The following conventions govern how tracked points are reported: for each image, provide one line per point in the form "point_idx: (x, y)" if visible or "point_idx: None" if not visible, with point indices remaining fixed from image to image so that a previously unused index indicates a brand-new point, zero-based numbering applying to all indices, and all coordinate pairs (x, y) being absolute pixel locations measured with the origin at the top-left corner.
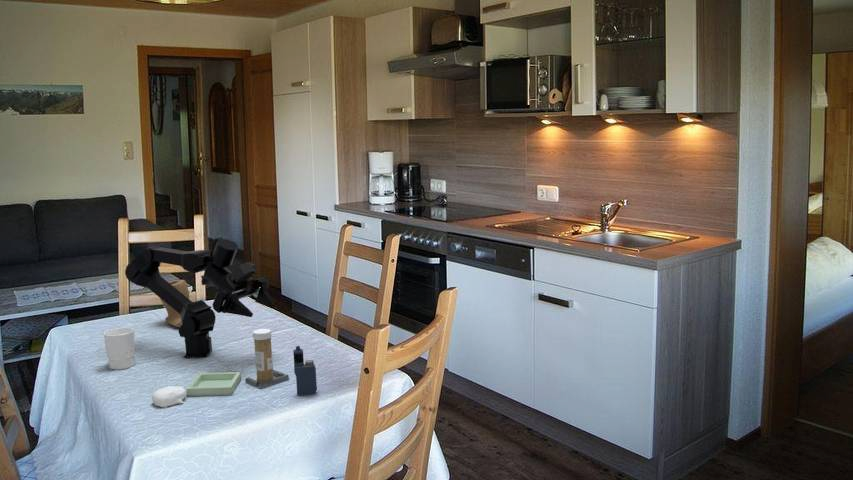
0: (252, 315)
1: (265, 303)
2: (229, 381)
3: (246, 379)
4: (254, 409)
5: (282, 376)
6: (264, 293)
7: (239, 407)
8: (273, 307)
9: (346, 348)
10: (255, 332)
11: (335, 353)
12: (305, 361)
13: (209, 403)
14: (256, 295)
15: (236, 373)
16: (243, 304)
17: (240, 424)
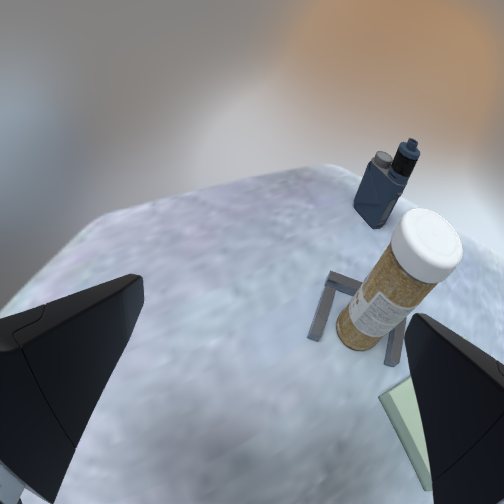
0: (410, 323)
1: (97, 374)
2: (413, 405)
3: (398, 359)
4: (460, 261)
5: (344, 279)
6: (29, 345)
7: (471, 288)
8: (143, 294)
9: (69, 245)
10: (460, 246)
11: (104, 254)
12: (390, 161)
13: (490, 351)
14: (5, 487)
15: (403, 395)
16: (482, 368)
17: (490, 252)
